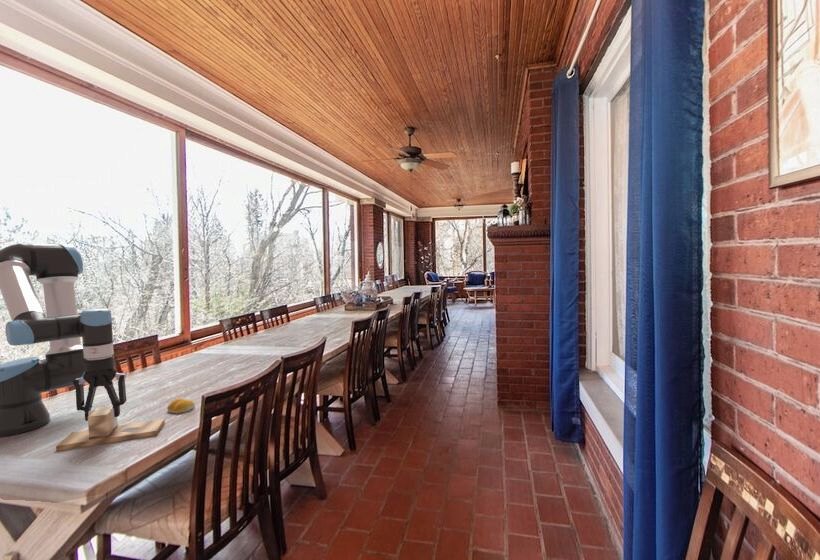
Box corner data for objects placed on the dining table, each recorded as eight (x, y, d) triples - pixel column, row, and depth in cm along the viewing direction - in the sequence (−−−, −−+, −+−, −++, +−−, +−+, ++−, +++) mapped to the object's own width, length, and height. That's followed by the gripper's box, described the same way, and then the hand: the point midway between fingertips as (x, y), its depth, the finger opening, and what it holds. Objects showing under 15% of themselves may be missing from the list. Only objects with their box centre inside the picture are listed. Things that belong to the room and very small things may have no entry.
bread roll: (181, 415, 140) (180, 404, 140) (163, 412, 143) (162, 402, 143) (200, 407, 148) (199, 396, 147) (183, 404, 151) (182, 394, 150)
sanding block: (89, 438, 118) (87, 417, 118) (99, 428, 126) (98, 407, 125) (108, 435, 120) (107, 414, 119) (117, 425, 127) (116, 405, 127)
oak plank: (56, 451, 114) (55, 445, 114) (72, 436, 124) (71, 432, 124) (157, 435, 123) (156, 430, 123) (164, 422, 133) (164, 418, 133)
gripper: (57, 363, 115) (62, 438, 116) (129, 356, 121) (133, 428, 122) (69, 357, 122) (74, 428, 123) (136, 351, 128) (140, 419, 129)
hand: (103, 428), depth 123 cm, fingers closed on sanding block, 5 cm apart
